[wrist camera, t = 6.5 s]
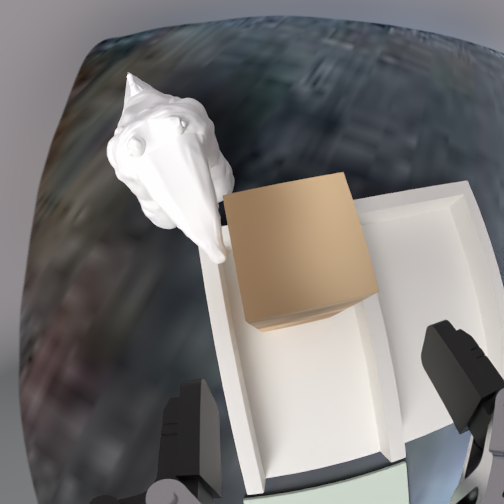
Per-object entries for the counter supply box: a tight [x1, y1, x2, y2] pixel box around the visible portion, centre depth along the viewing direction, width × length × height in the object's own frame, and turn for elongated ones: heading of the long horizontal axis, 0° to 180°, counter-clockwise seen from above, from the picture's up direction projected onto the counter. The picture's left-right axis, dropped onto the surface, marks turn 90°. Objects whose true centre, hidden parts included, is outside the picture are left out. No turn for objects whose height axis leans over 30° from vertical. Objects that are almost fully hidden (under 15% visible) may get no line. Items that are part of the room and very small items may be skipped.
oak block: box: [222, 172, 379, 332], centre depth 16 cm, size 4×4×11 cm
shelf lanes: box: [199, 181, 504, 495], centre depth 19 cm, size 20×17×4 cm
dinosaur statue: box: [107, 72, 234, 264], centre depth 21 cm, size 7×24×11 cm, turn 29°
